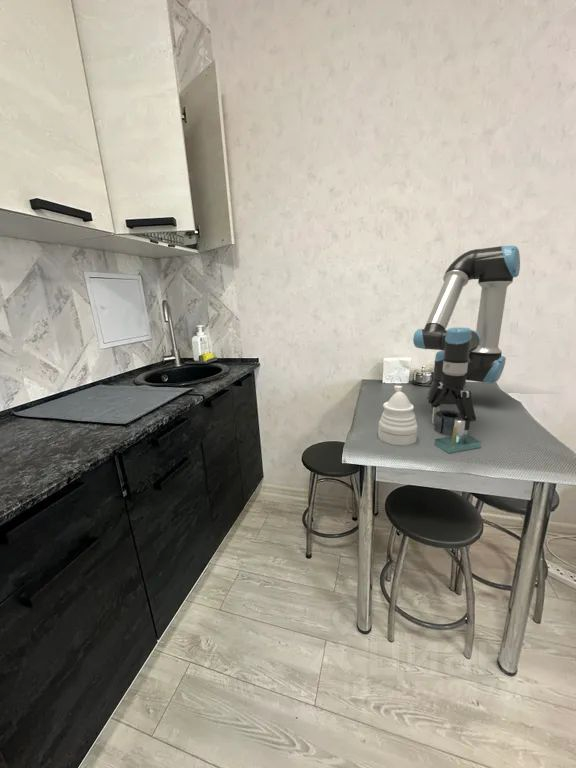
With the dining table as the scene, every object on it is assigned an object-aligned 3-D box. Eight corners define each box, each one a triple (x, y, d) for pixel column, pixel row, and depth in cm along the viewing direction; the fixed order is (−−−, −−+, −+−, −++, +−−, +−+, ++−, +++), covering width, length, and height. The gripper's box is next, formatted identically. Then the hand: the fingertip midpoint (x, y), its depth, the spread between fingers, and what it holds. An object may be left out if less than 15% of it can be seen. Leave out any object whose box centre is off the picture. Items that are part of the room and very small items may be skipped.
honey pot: (374, 430, 117) (376, 383, 112) (409, 429, 117) (412, 382, 112) (383, 445, 105) (385, 394, 100) (422, 445, 104) (426, 393, 99)
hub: (449, 424, 119) (451, 409, 118) (468, 433, 111) (470, 417, 109) (429, 427, 117) (430, 412, 116) (446, 437, 109) (448, 421, 107)
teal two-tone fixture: (464, 439, 107) (467, 414, 104) (480, 447, 101) (483, 421, 98) (434, 444, 104) (436, 419, 102) (448, 453, 98) (451, 426, 96)
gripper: (421, 367, 119) (417, 419, 125) (474, 383, 96) (466, 446, 101) (438, 365, 121) (433, 416, 126) (494, 380, 97) (485, 443, 103)
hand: (448, 430), depth 114 cm, fingers open, 13 cm apart
